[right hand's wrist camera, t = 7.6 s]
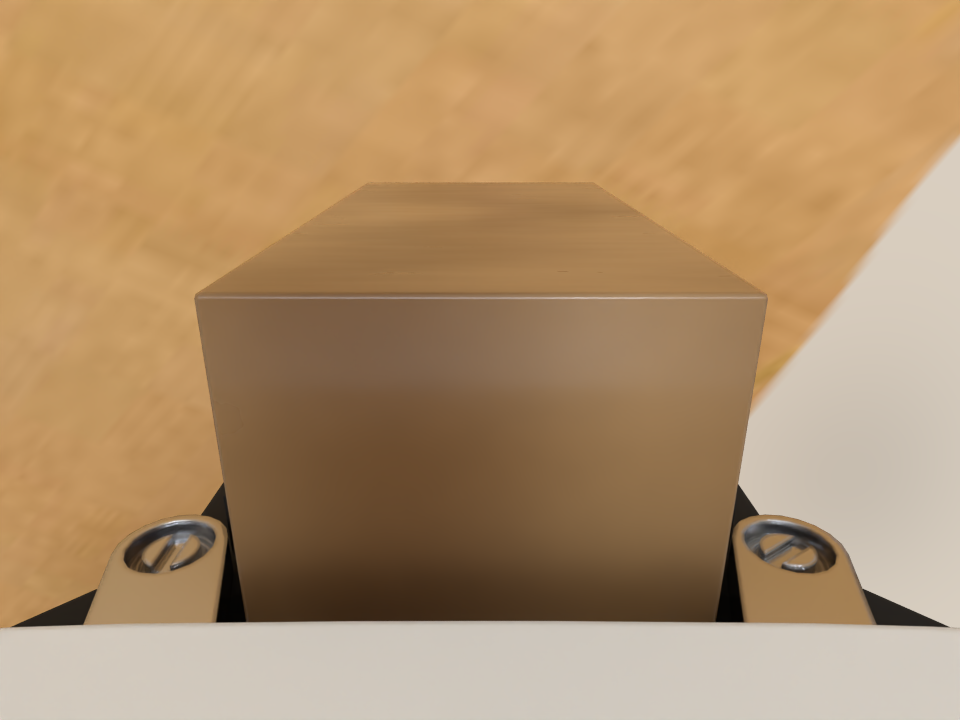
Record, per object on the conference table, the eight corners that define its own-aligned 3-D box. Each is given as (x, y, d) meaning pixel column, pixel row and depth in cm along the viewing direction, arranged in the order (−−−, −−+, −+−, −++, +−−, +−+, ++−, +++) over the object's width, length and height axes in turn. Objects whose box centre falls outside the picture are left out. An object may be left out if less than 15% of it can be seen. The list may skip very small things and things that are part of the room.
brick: (595, 182, 14) (771, 293, 5) (573, 539, 17) (663, 955, 9) (366, 181, 14) (189, 293, 5) (387, 538, 17) (297, 955, 9)
